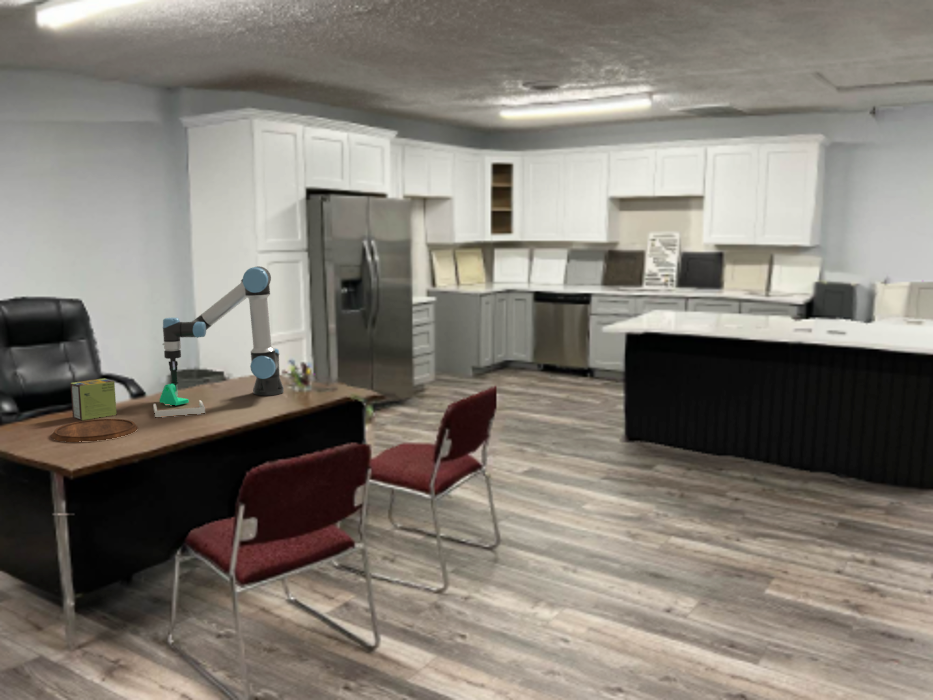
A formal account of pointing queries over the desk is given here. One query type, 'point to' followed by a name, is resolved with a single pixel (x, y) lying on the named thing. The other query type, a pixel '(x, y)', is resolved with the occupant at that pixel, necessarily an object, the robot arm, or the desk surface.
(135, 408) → the desk surface
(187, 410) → the housing frame
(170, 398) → the camera mount
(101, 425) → the cutting board
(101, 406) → the protein box
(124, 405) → the desk surface
